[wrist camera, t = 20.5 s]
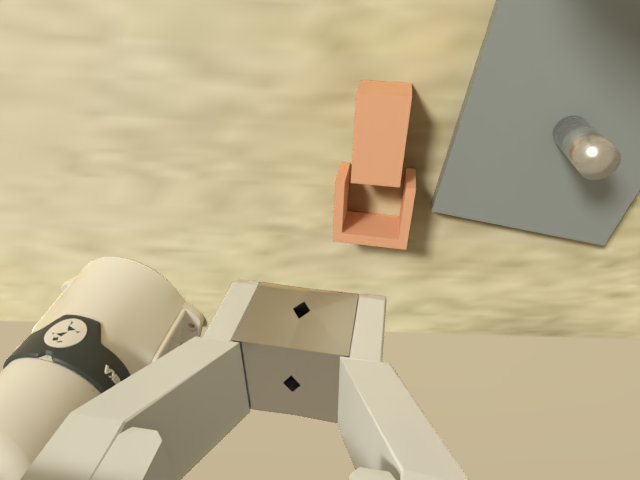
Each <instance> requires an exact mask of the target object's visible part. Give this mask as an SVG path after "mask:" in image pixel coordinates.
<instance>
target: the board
mask: <svg viewBox="0 0 640 480" xmlns="http://www.w3.org/2000/svg"><path fill="white" fill-rule="evenodd" d="M573 115H576V116H580V117H583V118H584V119H585V120H586V121H587V122H588V123H589V124H591V125H592V126H593V127H594V128H595V129H596V130H597V131H598V132H599V133H600V134H601V135H602V136H604V137H605V138H606V139H607V140H608V141H609V142H610V143H611V144H612V145H613V146H614V147H616V148H617V149H618V150H619V152H620V154H621V162H620V165H619V167H618V168H617V170H616V171H615V172H614V173H612V174H611V175H610V176H608V177H606V178H603V179H600V180H589V179H586V178H584V177H583V176H582V175H581V174H580V173H579V172H578V170H577V169H576V168H575V167H574V165H573V164H572V163H571V161H570V160H569V159H568V158H567V156H566V155H565V154H564V153H563V151H562V150H561V149H560V148H559V146H558V145H557V144H556V142H555V141H554V139H553V135H552V134H553V129H554V127H555V126H556V124H557V123H558V122H559V121H560V120H562V119H563V118H565V117H568V116H573ZM639 190H640V0H496V3H495V6H494V9H493V12H492V15H491V18H490V21H489V24H488V28H487V31H486V34H485V37H484V40H483V43H482V46H481V49H480V52H479V56H478V59H477V62H476V65H475V68H474V71H473V74H472V77H471V80H470V83H469V87H468V90H467V93H466V96H465V99H464V102H463V105H462V108H461V111H460V114H459V118H458V121H457V124H456V127H455V130H454V133H453V136H452V139H451V142H450V145H449V149H448V152H447V155H446V158H445V161H444V164H443V167H442V170H441V173H440V176H439V180H438V183H437V186H436V189H435V192H434V195H433V198H432V201H431V211H432V212H437V213H442V214H447V215H452V216H457V217H462V218H467V219H472V220H477V221H482V222H487V223H492V224H497V225H502V226H507V227H512V228H517V229H522V230H527V231H532V232H537V233H542V234H547V235H552V236H557V237H562V238H567V239H572V240H577V241H582V242H587V243H592V244H597V245H602V246H604V245H605V243H606V242H607V240H608V239H609V237H610V236H611V234H612V232H613V231H614V229H615V228H616V226H617V225H618V223H619V222H620V220H621V218H622V217H623V215H624V214H625V212H626V211H627V209H628V207H629V206H630V204H631V203H632V201H633V200H634V198H635V196H636V195H637V193H638V192H639Z"/></svg>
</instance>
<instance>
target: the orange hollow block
mask: <svg viewBox="0 0 640 480" xmlns="http://www.w3.org/2000/svg"><path fill="white" fill-rule="evenodd" d="M411 101H412V83H402V82H385V81H368V80H361V82H360V85H359V88H358V90H357V93H356V105H355V121H354V137H353V153H352V169H351V183H357V184H368V185H379V186H390V187H400V182H401V175H402V167H403V160H404V153H405V145H406V138H407V131H408V123H409V116H410V109H411ZM349 175H350V163H345V162H341V165H340V168H339V171H338V174H337V177H336V180H335V194H334V219H333V242H342V243H351V244H360V245H369V246H378V247H387V248H395V249H404V250H406V249H407V242H408V236H409V230H410V224H411V217H412V211H413V205H414V199H415V193H416V169H414V168H406V174H405V181H404V188H403V195H402V202H401V209H400V216H391V215H381V214H372V213H362V212H352V211H347V208H348V191H349Z"/></svg>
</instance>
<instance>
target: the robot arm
mask: <svg viewBox="0 0 640 480" xmlns="http://www.w3.org/2000/svg"><path fill="white" fill-rule="evenodd" d="M60 291H61V293H62V294H61V295H60V296H59V298H58V299H57V300H56V301H55V302H54V304H53V305H52V306H51V307H50V308H49V309H48V311H47V312H46V313H45V314H44V315H43V317H42V318H41V319H40V320H39V322H38V323H37V324H36V325H35V326H34V328H33V330H32V334H31V335H30V336H29V337H28V338H27V339H26V340H25V341H24V342H23V343H22V344H20V345H18V347H17V348H16V349H15V350H14V351H13V352H12V355H11V356H10V357H9V358H8V359H7V360H6V362H5V364H4V367H3V370H2V371H1V372H0V480H181V479H182V478H183V477H184V476H185V475H186V474H187V473H188V472H189V471H190V470H191V469H192V468H193V467H194V466H195V465H196V464H197V463H198V462H199V461H200V460H201V459H202V458H203V457H204V456H205V455H206V454H207V453H208V452H209V451H210V450H212V449H213V448H214V447H215V446H216V445H217V444H218V443H219V442H220V441H221V440H222V439H223V438H224V437H225V436H226V435H227V434H228V433H229V432H230V431H231V430H232V429H233V428H234V427H235V426H236V425H237V424H238V423H239V422H240V421H241V420H242V419H243V418H244V417H245V416H246V415H247V414H248V413H249V412H250V409H254V410H261V411H269V412H277V413H284V414H291V415H297V416H302V417H308V418H313V419H318V420H323V421H328V422H334V423H338V428H339V430H340V433H341V435H342V438H343V440H344V443H345V445H346V448H347V450H348V453H349V455H350V458H351V460H352V463H353V465H354V468H355V471H354V472H353V473H351V474H350V477H349V480H468V478H467V477H466V475H465V474H464V472H463V471H462V470H461V468H460V466H459V465H458V463H457V462H456V460H455V459H454V457H453V456H452V454H451V453H450V451H449V450H448V448H447V447H446V446H445V444H444V442H443V441H442V440H441V438H440V437H439V436H438V434H437V432H436V431H435V429H434V428H433V426H432V425H431V423H430V422H429V420H428V419H427V417H426V416H425V414H424V413H423V411H422V410H421V409H420V407H419V405H418V404H417V403H416V401H415V400H414V398H413V396H412V395H411V394H410V392H409V391H408V389H407V388H406V386H405V385H404V383H403V382H402V380H401V379H400V377H399V376H398V374H397V373H396V371H395V370H394V368H393V367H392V365H391V364H389V363H383V362H382V356H383V342H384V327H385V313H386V297H385V296H380V295H370V294H360V295H359V294H355V293H346V292H337V291H327V290H318V289H309V288H302V287H295V286H288V285H281V284H274V283H266V282H256V281H249V280H242V279H237V280H236V281H235V282H233V283H232V285H231V287H230V289H229V290H228V292H227V294H226V296H225V298H224V299H223V301H222V303H221V305H220V307H219V308H218V310H217V312H216V314H215V316H214V317H213V319H212V321H211V323H210V325H209V326H208V328H207V330H206V332H205V334H204V336H203V337H200V335H201V331H202V326H203V322H204V316H203V314H202V313H201V312H200V311H199V310H198V309H197V308H195V307H194V306H193V305H191V304H190V303H188V302H187V301H185V299H184V298H183V297H182V296H181V295H180V294H179V292H178V291H177V290H176V289H175V288H174V286H173V285H172V284H171V283H170V282H169V281H168V280H166V279H165V278H164V277H163V276H162V275H160V274H159V273H157V272H156V271H154V270H153V269H151V268H149V267H147V266H145V265H143V264H141V263H139V262H136V261H133V260H130V259H126V258H120V257H102V258H98V259H95V260H93V261H91V262H89V263H88V264H87V265H86V266H85V267H84V268H83V270H82V271H81V272H80V274H79V275H78V276H77V277H74V278H71V279H69V280H67V281H65V282H64V284H63V285H62V286H61V288H60Z"/></svg>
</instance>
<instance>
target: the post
mask: <svg viewBox="0 0 640 480" xmlns="http://www.w3.org/2000/svg"><path fill="white" fill-rule="evenodd" d="M552 135H553V139H554V141H555V142H556V144H557V145H558V146H559V148H560V149H561V150H562V151H563V153H564V154H565V155H566V156H567V158H568V159H569V160H570V161H571V163H572V164H573V165H574V167H575V168H576V169H577V170H578V172H579V173H580V174H581V175H582V176H583V177H584V178H586V179H589V180H600V179H603V178H606V177H608V176H610V175H611V174H612V173H614V172H615V171H616V170H617V168H618V167H619V165H620V162H621V154H620V152H619V150H618V149H617V148H616V147H614V146H613V145H612V144H611V143H610V142H609V141H608V140H607V139H606V138H605V137H604V136H602V135H601V134H600V133H599V132H598V131H597V130H596V129H595V128H594V127H593V126H592V125H591V124H589V123H588V122H587V121H586V120H585V119H584V118H583V117H580V116H576V115H573V116H568V117H565V118H563V119H562V120H560V121H559V122H558V123H557V124H556V126H555V127H554V129H553V134H552Z"/></svg>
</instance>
